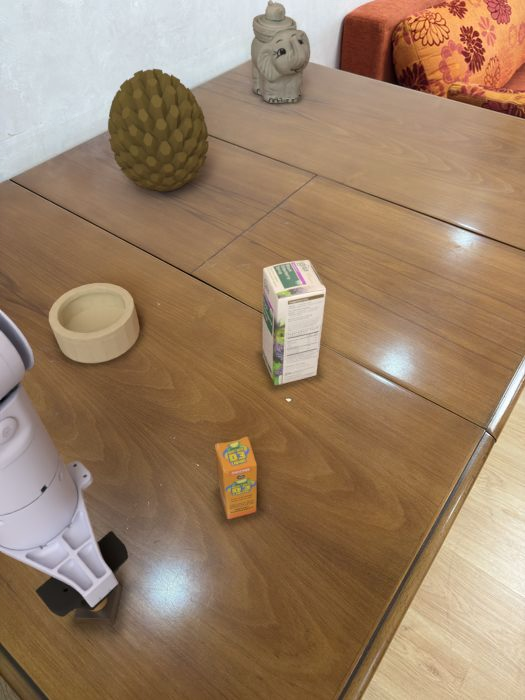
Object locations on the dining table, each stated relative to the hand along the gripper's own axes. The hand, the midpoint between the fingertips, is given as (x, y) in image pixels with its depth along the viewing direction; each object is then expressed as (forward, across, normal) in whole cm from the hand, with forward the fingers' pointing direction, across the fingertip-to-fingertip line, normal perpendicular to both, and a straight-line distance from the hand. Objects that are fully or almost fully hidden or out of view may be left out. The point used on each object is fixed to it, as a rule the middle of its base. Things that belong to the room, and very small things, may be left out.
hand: (71, 562), depth 41 cm
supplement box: (+10, -2, -16) cm, 19 cm away
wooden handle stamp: (+10, 0, 0) cm, 10 cm away
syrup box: (+10, +6, -34) cm, 36 cm away
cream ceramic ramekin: (+10, +29, -21) cm, 37 cm away
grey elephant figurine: (+10, +63, -96) cm, 116 cm away
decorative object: (+10, +52, -52) cm, 75 cm away
